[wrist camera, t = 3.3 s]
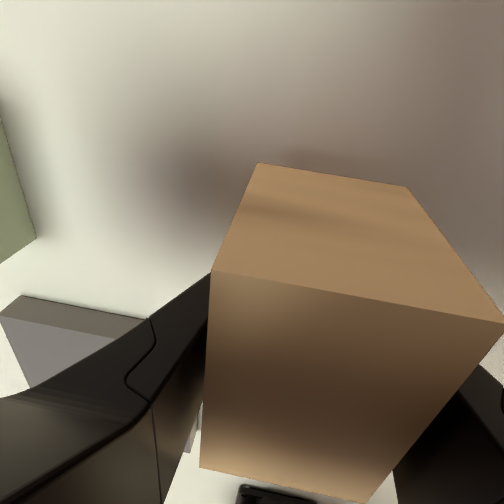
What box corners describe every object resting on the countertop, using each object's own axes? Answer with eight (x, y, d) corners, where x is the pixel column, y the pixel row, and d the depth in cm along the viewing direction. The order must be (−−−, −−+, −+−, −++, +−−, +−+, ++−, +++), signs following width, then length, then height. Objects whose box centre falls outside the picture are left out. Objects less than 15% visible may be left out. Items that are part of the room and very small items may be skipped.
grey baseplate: (196, 430, 22) (190, 453, 21) (59, 401, 22) (45, 421, 21) (201, 331, 16) (192, 354, 15) (19, 295, 17) (-4, 315, 16)
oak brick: (343, 340, 12) (364, 504, 7) (236, 320, 12) (199, 467, 8) (407, 187, 8) (510, 324, 4) (257, 162, 8) (211, 269, 4)
